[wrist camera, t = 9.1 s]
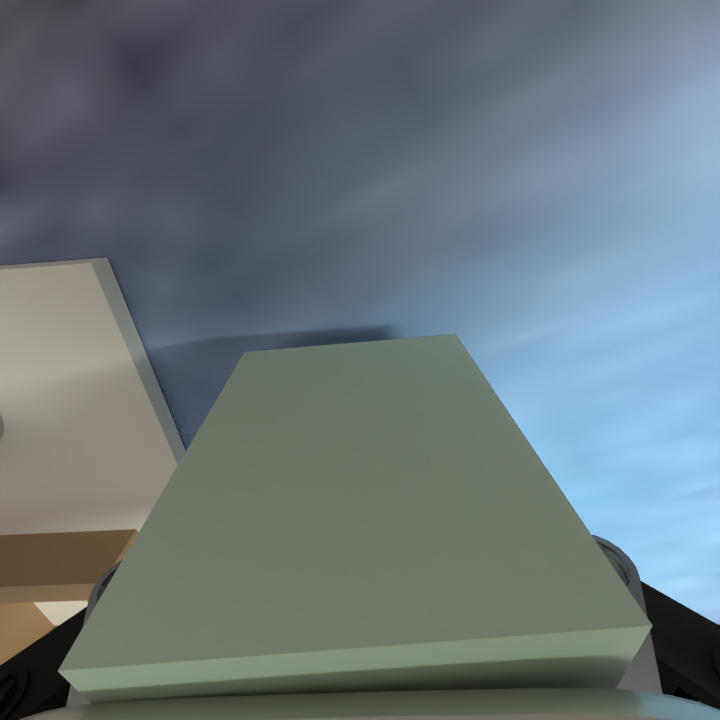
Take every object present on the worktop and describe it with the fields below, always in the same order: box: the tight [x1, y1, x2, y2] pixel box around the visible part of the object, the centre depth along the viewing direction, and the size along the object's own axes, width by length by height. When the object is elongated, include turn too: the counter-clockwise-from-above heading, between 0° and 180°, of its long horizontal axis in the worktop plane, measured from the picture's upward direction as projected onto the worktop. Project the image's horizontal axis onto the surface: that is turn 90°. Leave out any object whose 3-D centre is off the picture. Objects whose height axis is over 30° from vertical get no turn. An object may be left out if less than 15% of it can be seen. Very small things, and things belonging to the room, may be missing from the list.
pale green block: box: [58, 334, 652, 703], centre depth 9 cm, size 7×7×8 cm
